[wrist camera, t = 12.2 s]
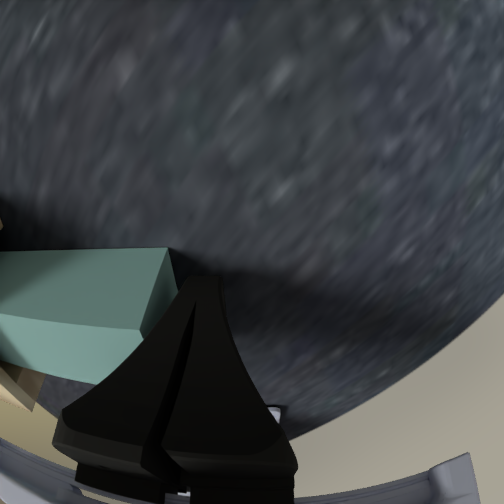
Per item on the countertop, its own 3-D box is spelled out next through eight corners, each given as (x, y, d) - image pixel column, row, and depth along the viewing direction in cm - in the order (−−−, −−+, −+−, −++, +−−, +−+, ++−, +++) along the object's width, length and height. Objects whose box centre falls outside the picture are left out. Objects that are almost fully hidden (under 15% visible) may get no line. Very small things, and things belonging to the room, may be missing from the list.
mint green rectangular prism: (184, 318, 13) (170, 394, 10) (8, 304, 14) (-20, 353, 10) (167, 247, 11) (138, 329, 8) (-21, 252, 11) (-59, 300, 8)
